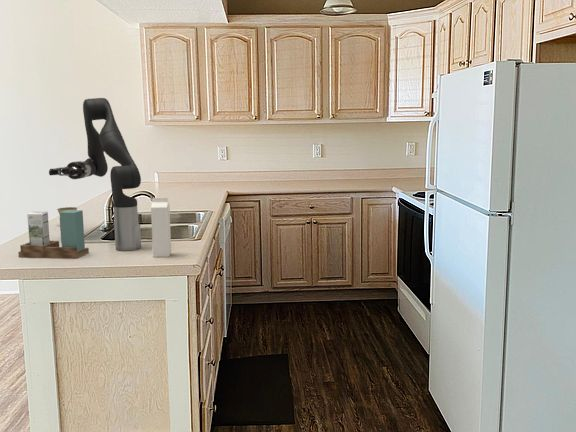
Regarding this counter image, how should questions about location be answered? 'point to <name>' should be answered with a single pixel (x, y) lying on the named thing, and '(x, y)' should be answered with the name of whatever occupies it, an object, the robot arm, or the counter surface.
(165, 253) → the milk
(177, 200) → the counter surface
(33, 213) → the syrup box
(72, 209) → the flower pot
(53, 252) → the wooden compartment tray
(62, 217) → the teal tall block
